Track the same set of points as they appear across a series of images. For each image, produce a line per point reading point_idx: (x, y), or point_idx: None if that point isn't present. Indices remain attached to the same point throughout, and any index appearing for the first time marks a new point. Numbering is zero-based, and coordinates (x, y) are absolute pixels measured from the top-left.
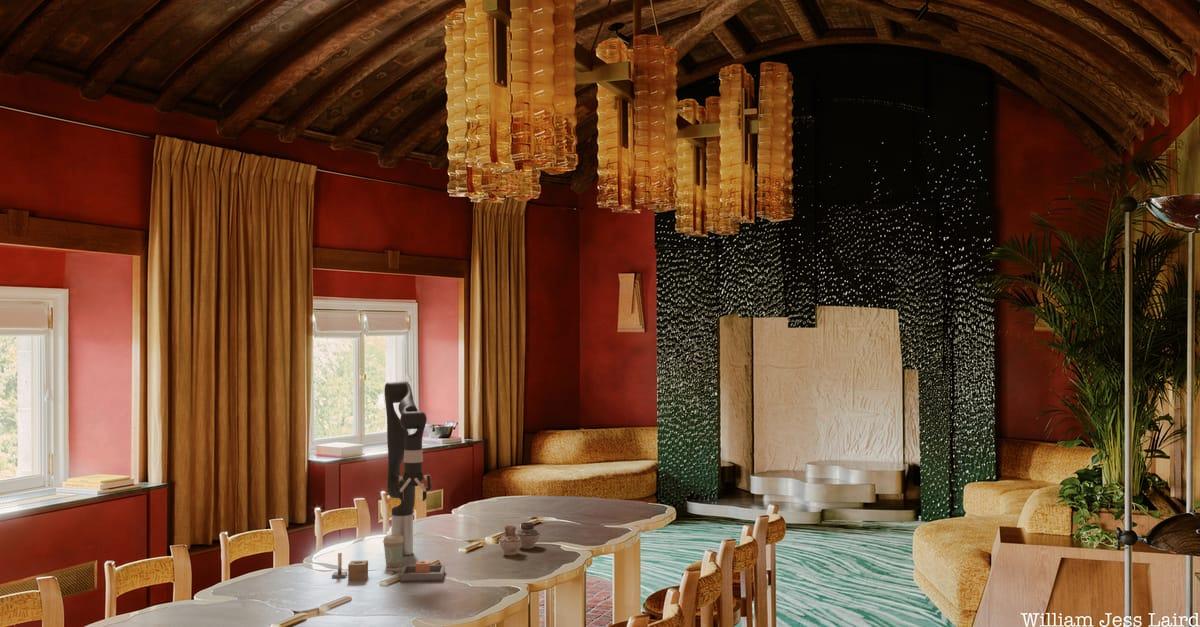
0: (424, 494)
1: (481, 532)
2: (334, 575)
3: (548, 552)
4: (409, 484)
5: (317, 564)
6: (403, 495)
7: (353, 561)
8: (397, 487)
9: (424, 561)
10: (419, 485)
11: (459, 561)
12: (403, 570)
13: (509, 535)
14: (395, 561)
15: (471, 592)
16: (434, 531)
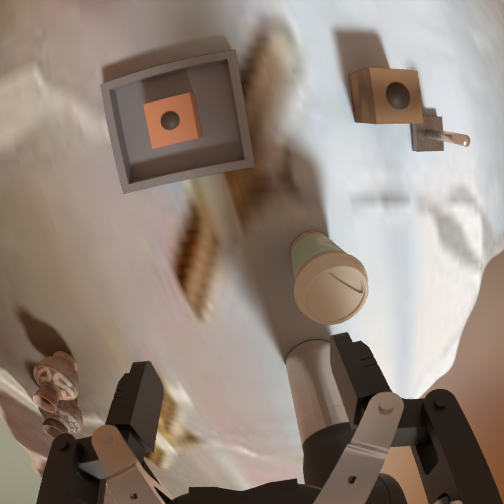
0: (124, 407)
1: (196, 467)
2: (436, 116)
3: (18, 363)
4: (293, 499)
5: (475, 249)
6: (343, 391)
7: (415, 113)
8: (439, 420)
9: (167, 134)
10: (143, 486)
11: (136, 304)
12: (239, 101)
13: (45, 383)
14: (304, 238)
15: (30, 19)
16: (279, 467)
